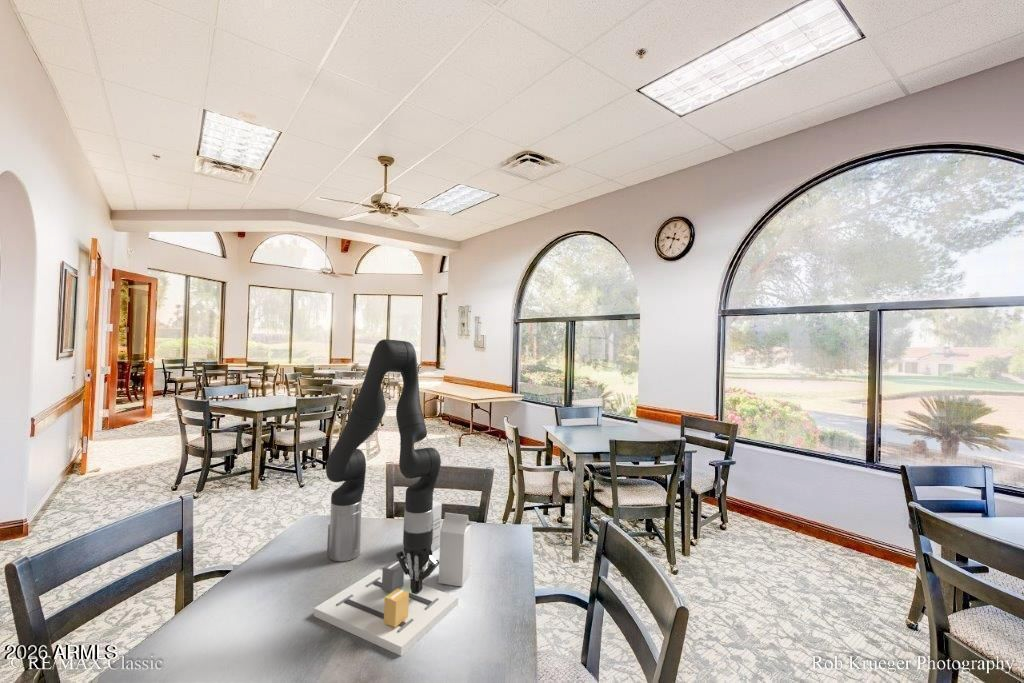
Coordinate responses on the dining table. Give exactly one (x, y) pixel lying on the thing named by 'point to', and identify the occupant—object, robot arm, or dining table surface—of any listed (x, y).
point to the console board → (365, 613)
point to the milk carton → (454, 549)
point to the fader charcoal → (392, 576)
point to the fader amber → (396, 607)
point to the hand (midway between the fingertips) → (416, 592)
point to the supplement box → (436, 525)
